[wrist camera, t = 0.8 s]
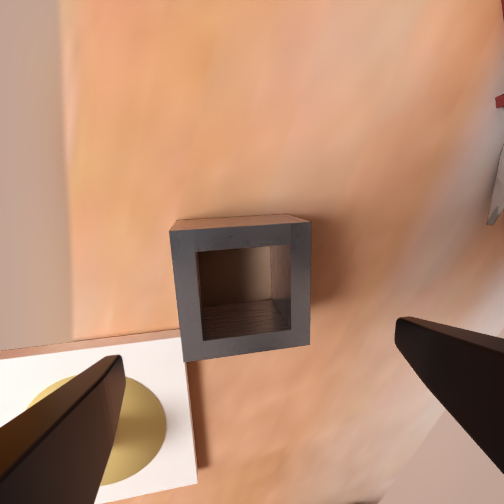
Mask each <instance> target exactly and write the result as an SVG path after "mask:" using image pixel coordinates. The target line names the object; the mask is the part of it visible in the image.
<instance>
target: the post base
mask: <svg viewBox="0 0 504 504" xmlns="http://www.w3.org/2000/svg"><path fill="white" fill-rule="evenodd" d="M117 354H118V355H121V356H122V359H123V365H124V371H125V377H126V388H125V393H124V397H123V402H122V407H121V412H120V417H119V421H118V426H117V431H116V435H115V440H114V443H113V446H112V450H111V453H110V456H109V459H108V462H107V465H106V468H105V471H104V474H103V478H102V481H101V484H100V487H99V490H98V493H97V496H96V499H95V502H94V504H102V503H107V502H112V501H116V500H121V499H126V498H130V497H135V496H140V495H145V494H149V493H154V492H159V491H163V490H168V489H173V488H178V487H182V486H187V485H192V484H196V483H198V467H197V458H196V448H195V439H194V429H193V420H192V411H191V401H190V392H189V383H188V373H187V364H186V362H184V363H183V353H182V344H181V335H180V329H175V330H167V331H159V332H150V333H142V334H134V335H126V336H117V337H109V338H101V339H93V340H84V341H76V342H68V343H60V344H51V345H43V346H35V347H28V348H19V349H10V350H2V351H0V427H2V426H3V425H5V424H6V423H8V422H9V421H11V420H12V419H14V418H15V417H16V416H18V415H19V414H21V413H22V412H24V411H25V410H27V409H28V408H30V407H31V406H33V405H34V404H36V403H37V402H39V401H40V400H42V399H43V398H45V397H46V396H47V395H49V394H50V393H52V392H53V391H55V390H56V389H58V388H59V387H61V386H62V385H64V384H65V383H67V382H68V381H70V380H71V379H73V378H74V377H76V376H77V375H78V374H80V373H81V372H83V371H84V370H86V369H87V368H89V367H90V366H92V365H93V364H95V363H96V362H98V361H99V360H101V359H102V358H104V357H105V356H110V355H117Z"/></svg>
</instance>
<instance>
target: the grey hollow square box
mask: <svg viewBox="0 0 504 504" xmlns="http://www.w3.org/2000/svg"><path fill="white" fill-rule="evenodd" d="M169 235H170V244H171V253H172V262H173V271H174V280H175V289H176V299H177V308H178V317H179V326H180V335H181V344H182V353H183V363H184V362H191V361H198V360H205V359H212V358H220V357H227V356H234V355H241V354H248V353H255V352H262V351H269V350H276V349H284V348H291V347H298V346H305V345H310V286H311V222H310V221H307V220H304V219H301V218H298V217H294V216H291V215H288V214H274V215H257V216H240V217H223V218H206V219H189V220H176V222H175V223H174V225H173V226H172V227H171V229H170V230H169ZM263 246H270V248H271V290H272V299H268V300H259V301H250V302H241V303H232V304H223V305H214V306H205V307H202V298H201V286H200V275H199V263H198V252H199V251H211V250H224V249H237V248H250V247H263Z"/></svg>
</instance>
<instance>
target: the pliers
mask: <svg viewBox="0 0 504 504" xmlns="http://www.w3.org/2000/svg"><path fill="white" fill-rule="evenodd" d="M501 2H502V10H503V18H504V0H501ZM495 100H496V107H497V108H499V107H502V106H504V94H502V95H500V96H498V97H496V98H495ZM503 209H504V146H503V149H502V152H501V156H500V161H499V166H498V170H497V175H496V180H495V185H494V190H493V195H492V200H491V205H490V210H489V214H488V219H487V225H493V224H494V223H495V221H496V220H497V218H498V217H499V215H500V214H501V212H502V211H503Z"/></svg>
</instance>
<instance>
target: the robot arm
mask: <svg viewBox="0 0 504 504" xmlns="http://www.w3.org/2000/svg"><path fill="white" fill-rule="evenodd" d="M395 344H396V346H397V348H398V349H399V351H400V352H401V353H402V355H403V356H404V357H405V359H406V360H407V362H408V363H409V364H410V366H411V367H412V368H413V370H414V371H415V372H416V374H417V375H418V376H419V378H420V379H421V380H422V382H423V383H424V384H425V385H426V387H427V388H428V389H429V390H430V391H431V392H432V394H433V395H434V396H435V397H436V398H437V399H438V400H439V401H440V403H441V404H442V405H443V406H444V407H445V408H446V409H447V411H448V412H449V413H450V414H451V415H452V416H453V417H454V418H455V420H456V421H457V422H458V423H459V424H460V425H461V426H462V428H463V429H464V430H465V431H466V432H467V433H468V434H469V435H470V437H471V438H472V439H473V440H474V441H475V442H476V443H477V445H478V446H479V447H480V448H481V449H482V450H483V451H484V452H485V453H486V455H487V456H488V457H489V458H490V459H491V460H492V461H493V463H494V464H495V465H496V466H497V467H498V468H499V469H500V471H501V472H502V473H503V474H504V339H503V338H499V337H494V336H490V335H486V334H482V333H478V332H473V331H469V330H465V329H461V328H457V327H452V326H448V325H444V324H440V323H435V322H431V321H427V320H423V319H419V318H414V317H400V318H398V319H397V321H396V328H395ZM125 388H126V377H125V371H124V365H123V359H122V356H121V355H118V354H117V355H110V356H105V357H104V358H102V359H101V360H99V361H98V362H96V363H95V364H93V365H92V366H90V367H89V368H87V369H86V370H84V371H83V372H81V373H80V374H78V375H77V376H76V377H74V378H73V379H71V380H70V381H68V382H67V383H65V384H64V385H62V386H61V387H59V388H58V389H56V390H55V391H53V392H52V393H50V394H49V395H47V396H46V397H45V398H43V399H42V400H40V401H39V402H37V403H36V404H34V405H33V406H31V407H30V408H28V409H27V410H25V411H24V412H22V413H21V414H19V415H18V416H16V417H15V418H14V419H12V420H11V421H9V422H8V423H6V424H5V425H3V426H2V427H0V504H94V502H95V499H96V496H97V493H98V490H99V487H100V484H101V481H102V478H103V474H104V471H105V468H106V465H107V462H108V459H109V456H110V453H111V450H112V446H113V443H114V440H115V435H116V431H117V426H118V421H119V417H120V412H121V407H122V402H123V397H124V393H125Z"/></svg>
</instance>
